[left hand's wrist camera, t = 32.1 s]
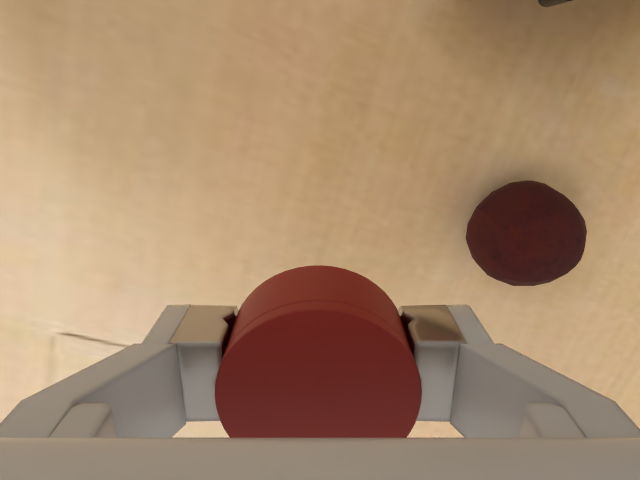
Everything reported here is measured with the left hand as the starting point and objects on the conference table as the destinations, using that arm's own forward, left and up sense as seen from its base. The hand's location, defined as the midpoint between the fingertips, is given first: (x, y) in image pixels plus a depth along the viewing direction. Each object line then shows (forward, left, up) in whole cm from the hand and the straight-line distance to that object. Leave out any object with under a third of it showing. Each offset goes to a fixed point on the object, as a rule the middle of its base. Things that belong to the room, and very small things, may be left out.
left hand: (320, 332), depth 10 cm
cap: (0, 0, +2) cm, 2 cm away
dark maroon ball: (+8, +13, -25) cm, 29 cm away
